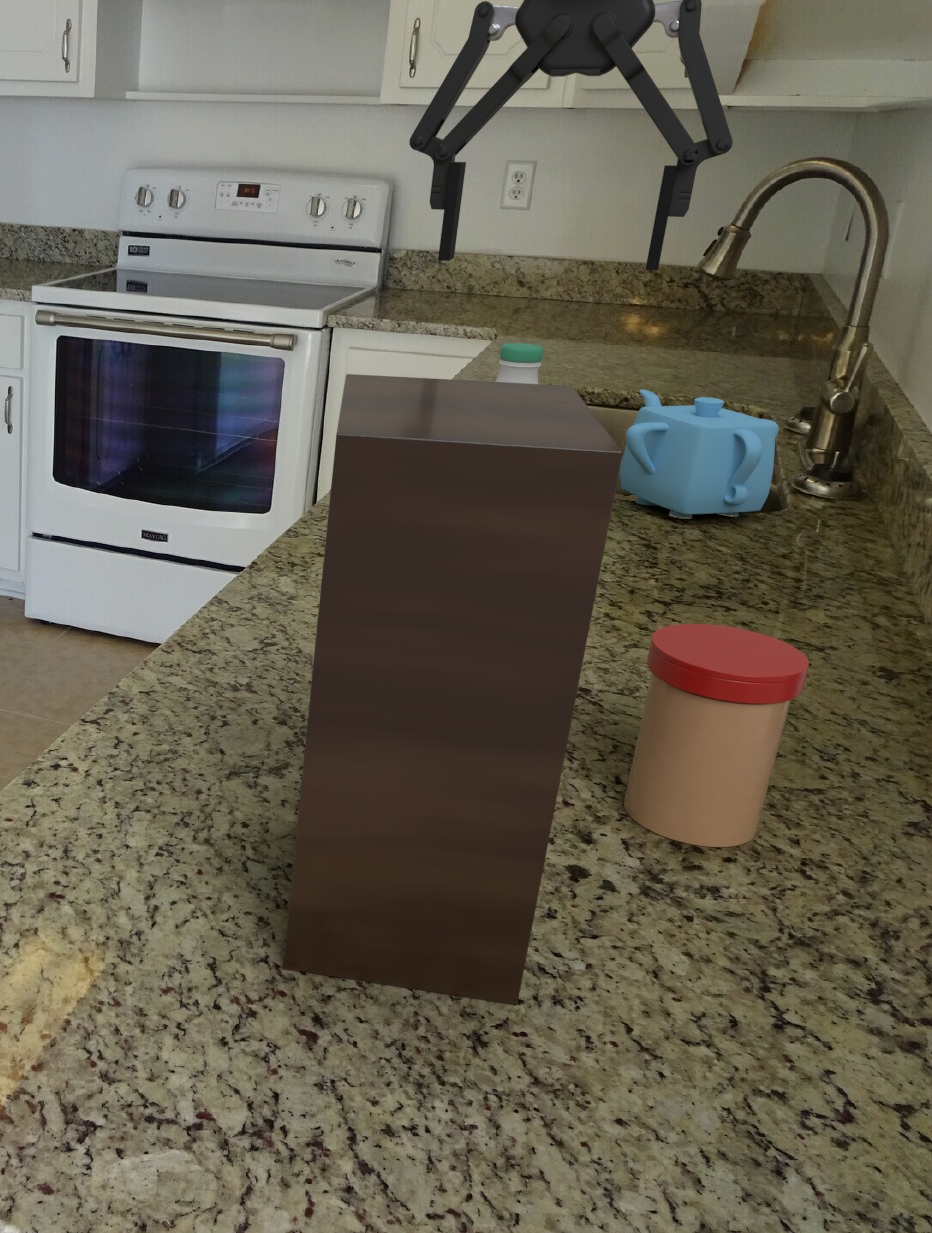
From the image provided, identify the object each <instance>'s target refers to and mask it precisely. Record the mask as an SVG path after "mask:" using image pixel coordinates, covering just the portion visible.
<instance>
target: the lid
mask: <svg viewBox="0 0 932 1233" xmlns="http://www.w3.org/2000/svg"><path fill="white" fill-rule="evenodd" d="M809 662H810V661H809V659H808V657H807V656H806V655H805V654H804V653H803V652H802V651H801V650H800V649H798V648H797V647H795V646H793V645H791V644H789V643H787V642H785V641H782V640H781V639H778V638H775V637H772V636H769V635H767V634H764V633H760V632H757V631H753V630H748V629H744V628H738V627H732V626H726V625H720V624H710V623H680V624H672V625H667V626H664V627H661V628H659V629H657V630H656V631H654V632H653V634H652V636H651V640H650V644H649V649H648V654H647V659H646V666H647V668H648V670H649V671H650V672H651V673H653V674H654V675H655V676H656V677H658V678H659V679H661V680H663V681H664V682H666V683H668V684H670V685H672V686H675V687H677V688H679V689H682V690H685V691H687V692H690V693H694V694H697V695H701V696H704V697H709V698H712V699H718V700H724V701H730V702H736V703H749V704H771V703H780V702H785V701H789V700H791V701H792V700H794V699H796V698H798V697H799V696H800V694H802V692H803V688H804V686H805V682H806V678H807V674H808V671H809V666H810V663H809Z"/></svg>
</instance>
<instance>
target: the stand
mask: <svg viewBox="0 0 932 1233" xmlns="http://www.w3.org/2000/svg"><path fill="white" fill-rule="evenodd" d="M339 409H340V410H339V417H338V422H337V428H336V435H335V445H334V454H333V465H332V474H331V483H330V484H331V485H330V492H329V493H330V494H329V502H328V503H329V504H328V513H327V524H326V532H325V534H326V535H325V544H324V552H323V554H324V555H323V562H322V575H321V581H320V582H321V583H320V593H319V603H318V612H317V613H318V614H317V615H318V616H317V623H316V633H315V644H314V652H313V663H312V675H311V683H310V694H309V701H308V702H309V703H308V712H307V721H306V722H307V724H306V733H305V741H304V742H305V743H304V753H303V761H302V762H303V763H302V773H301V783H300V792H299V802H298V812H297V821H296V830H295V831H296V832H295V842H294V852H293V862H292V870H291V871H292V872H291V882H290V892H289V901H288V902H289V903H288V912H287V922H286V923H287V924H286V933H285V940H284V952H283V960H282V961H283V962H282V969H283V970H289V971H295V972H300V973H301V972H302V973H308V974H315V975H320V976H321V975H322V976H326V977H334V978H339V979H347V980H354V981H359V982H365V983H371V984H379V985H386V986H392V987H398V988H399V987H400V988H405V989H412V990H418V991H424V992H431V993H437V994H443V995H450V996H457V997H464V998H469V999H475V1000H482V1001H490V1002H496V1003H501V1004H502V1003H503V1004H508V1005H518V1003H519V997H520V993H521V987H522V983H523V978H524V971H525V966H526V961H527V956H528V950H529V945H530V940H531V935H532V930H533V924H534V919H535V914H536V908H537V903H538V898H539V893H540V888H541V883H542V878H543V874H544V867H545V862H546V856H547V852H548V845H549V841H550V835H551V830H552V825H553V820H554V814H555V810H556V804H557V800H558V795H559V789H560V785H561V784H560V783H561V778H562V774H563V768H564V762H565V756H566V752H567V747H568V741H569V737H570V731H571V726H572V720H573V714H574V709H575V705H576V701H577V700H576V699H577V694H578V689H579V684H580V678H581V674H582V668H583V662H584V659H585V658H584V657H585V654H586V653H585V652H586V647H587V642H588V636H589V631H590V626H591V621H592V615H593V611H594V605H595V600H596V595H597V589H598V584H599V580H600V574H601V569H602V563H603V560H604V559H603V558H604V553H605V548H606V544H607V537H608V532H609V527H610V522H611V516H612V512H613V506H614V502H615V501H614V500H615V495H616V491H617V487H618V486H617V484H618V480H619V476H620V468H621V463H622V459H623V455H624V452H623V451H622V450H621V447H619V445H618V444H617V443H616V441H615V439H614V438H612V436H611V435H610V433H609V432H608V431H607V430H606V429H605V427H604V426H603V424H602V423H601V422H600V421H599V419H598V418H597V416H595V414H594V412H593V411H592V410H591V409H590V408H589V406H588V405H587V404H586V403H585V401H584V400H583V399H582V397H581V396H580V395H579V393H578V392H577V391H576V389H575V388H574V387H573V386H572V385H565V384H564V385H561V384H544V383H543V384H542V383H539V384H526V383H507V382H495V381H486V380H469V379H468V380H467V379H466V380H465V379H447V378H431V377H430V378H428V377H413V376H412V377H409V376H391V375H372V374H352V373H347V374H345V379H344V385H343V390H342V397H341V404H340V408H339Z"/></svg>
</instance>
